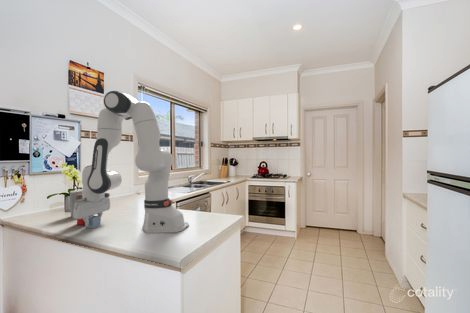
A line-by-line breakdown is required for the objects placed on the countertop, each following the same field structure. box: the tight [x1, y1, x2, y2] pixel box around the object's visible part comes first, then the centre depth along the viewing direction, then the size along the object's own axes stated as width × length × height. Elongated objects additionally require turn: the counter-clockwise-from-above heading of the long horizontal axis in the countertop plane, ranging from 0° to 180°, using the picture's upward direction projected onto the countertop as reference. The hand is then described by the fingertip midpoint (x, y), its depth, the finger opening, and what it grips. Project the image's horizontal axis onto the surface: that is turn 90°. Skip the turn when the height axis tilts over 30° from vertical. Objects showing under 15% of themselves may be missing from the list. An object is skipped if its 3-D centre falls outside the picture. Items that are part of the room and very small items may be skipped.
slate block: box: [85, 215, 101, 229], centre depth 118 cm, size 4×4×5 cm
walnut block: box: [76, 194, 82, 201], centre depth 123 cm, size 6×6×5 cm
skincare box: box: [69, 189, 83, 219], centre depth 140 cm, size 8×7×16 cm
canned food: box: [76, 215, 95, 226], centre depth 123 cm, size 8×8×11 cm
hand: (93, 223), depth 118 cm, fingers open, 5 cm apart
